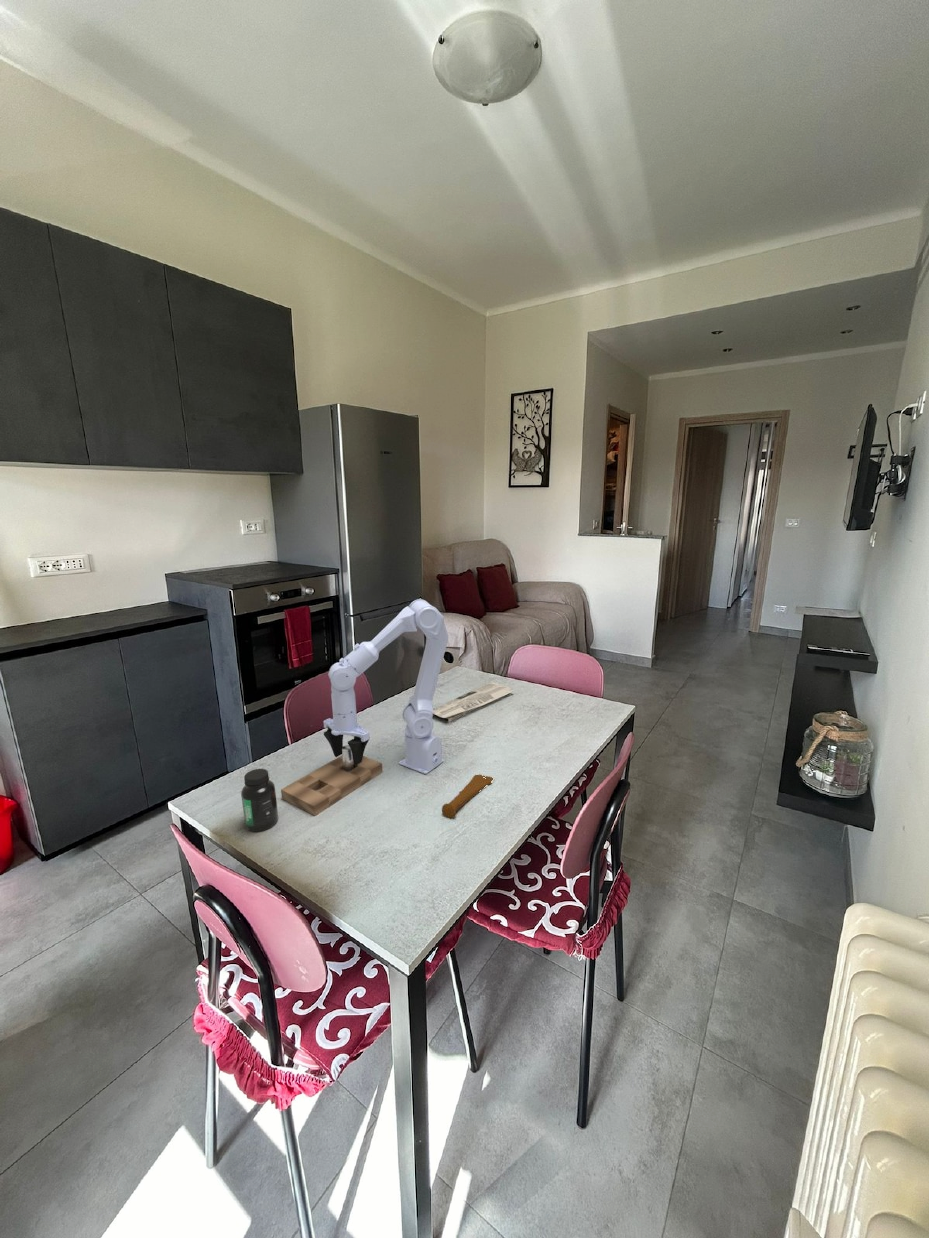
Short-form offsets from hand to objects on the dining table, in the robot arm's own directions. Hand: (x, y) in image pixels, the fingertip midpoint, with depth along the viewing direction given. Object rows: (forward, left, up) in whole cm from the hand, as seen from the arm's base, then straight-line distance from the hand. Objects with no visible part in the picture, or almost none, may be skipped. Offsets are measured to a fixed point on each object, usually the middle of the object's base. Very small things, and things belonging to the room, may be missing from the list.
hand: (348, 759), depth 126 cm
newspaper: (-2, -55, -6) cm, 55 cm away
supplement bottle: (+2, +24, -5) cm, 25 cm away
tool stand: (0, +5, -5) cm, 7 cm away
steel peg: (0, 0, -5) cm, 5 cm away
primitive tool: (-30, -10, -5) cm, 32 cm away
